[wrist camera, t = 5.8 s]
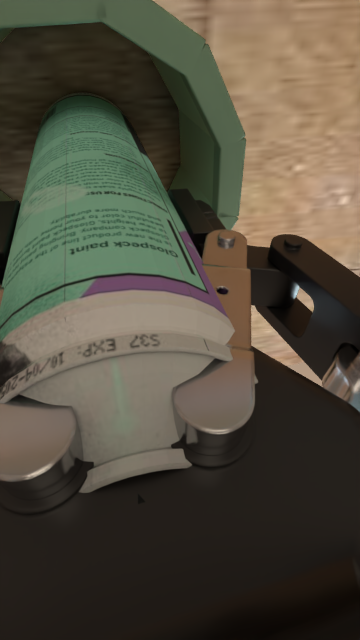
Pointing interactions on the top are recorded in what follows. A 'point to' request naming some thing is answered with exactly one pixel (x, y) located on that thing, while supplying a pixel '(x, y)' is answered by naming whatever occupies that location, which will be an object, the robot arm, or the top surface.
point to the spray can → (105, 293)
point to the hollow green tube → (179, 77)
